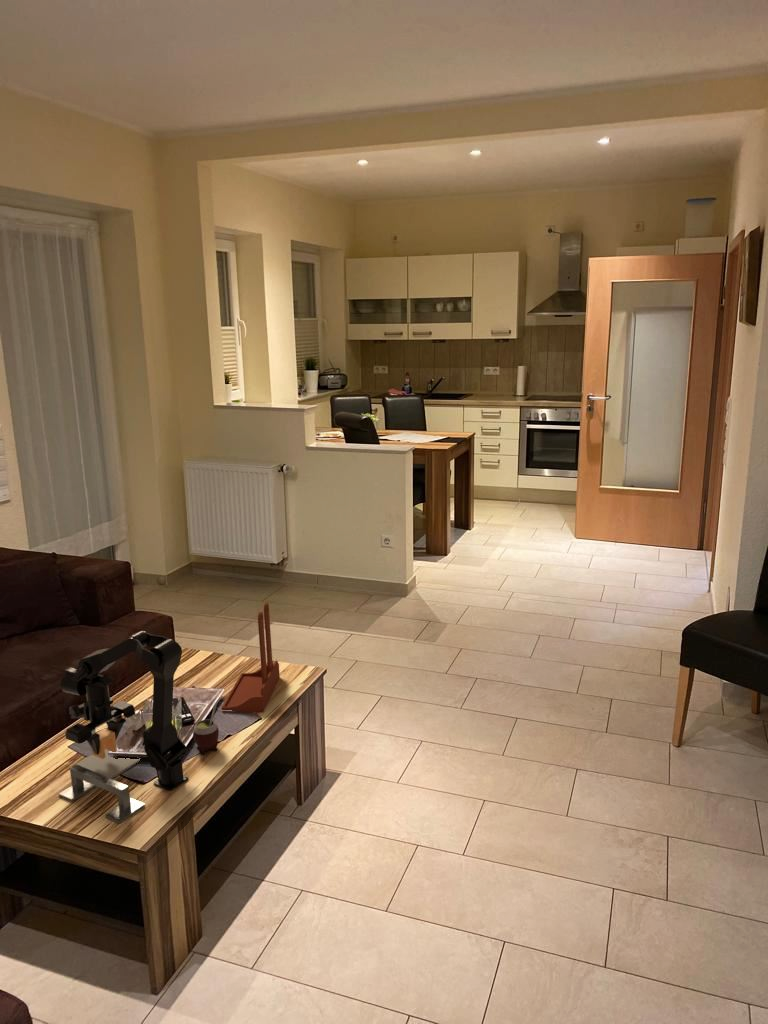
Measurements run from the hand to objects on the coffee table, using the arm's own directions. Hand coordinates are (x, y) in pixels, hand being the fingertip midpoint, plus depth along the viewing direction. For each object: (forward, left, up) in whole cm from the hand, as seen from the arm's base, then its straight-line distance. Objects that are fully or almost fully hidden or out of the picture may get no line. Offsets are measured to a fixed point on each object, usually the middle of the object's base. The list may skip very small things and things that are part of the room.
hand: (104, 749), depth 211 cm
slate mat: (0, 0, -5) cm, 5 cm away
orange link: (0, 0, -1) cm, 1 cm away
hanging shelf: (-7, -52, -5) cm, 52 cm away
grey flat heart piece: (+8, -17, -5) cm, 19 cm away
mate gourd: (-19, -20, -5) cm, 28 cm away
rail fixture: (-13, +12, -5) cm, 18 cm away
